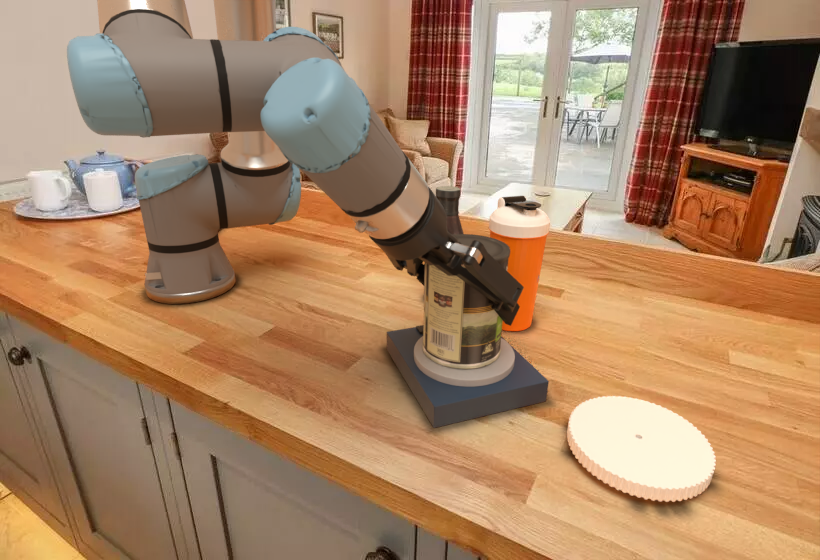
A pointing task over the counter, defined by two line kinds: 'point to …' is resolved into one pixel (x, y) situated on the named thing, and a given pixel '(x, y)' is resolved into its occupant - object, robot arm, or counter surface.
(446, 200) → the sauce bottle
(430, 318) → the coffee can
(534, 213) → the shaker bottle
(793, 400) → the counter surface
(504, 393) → the kitchen scale
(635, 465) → the plastic lid
